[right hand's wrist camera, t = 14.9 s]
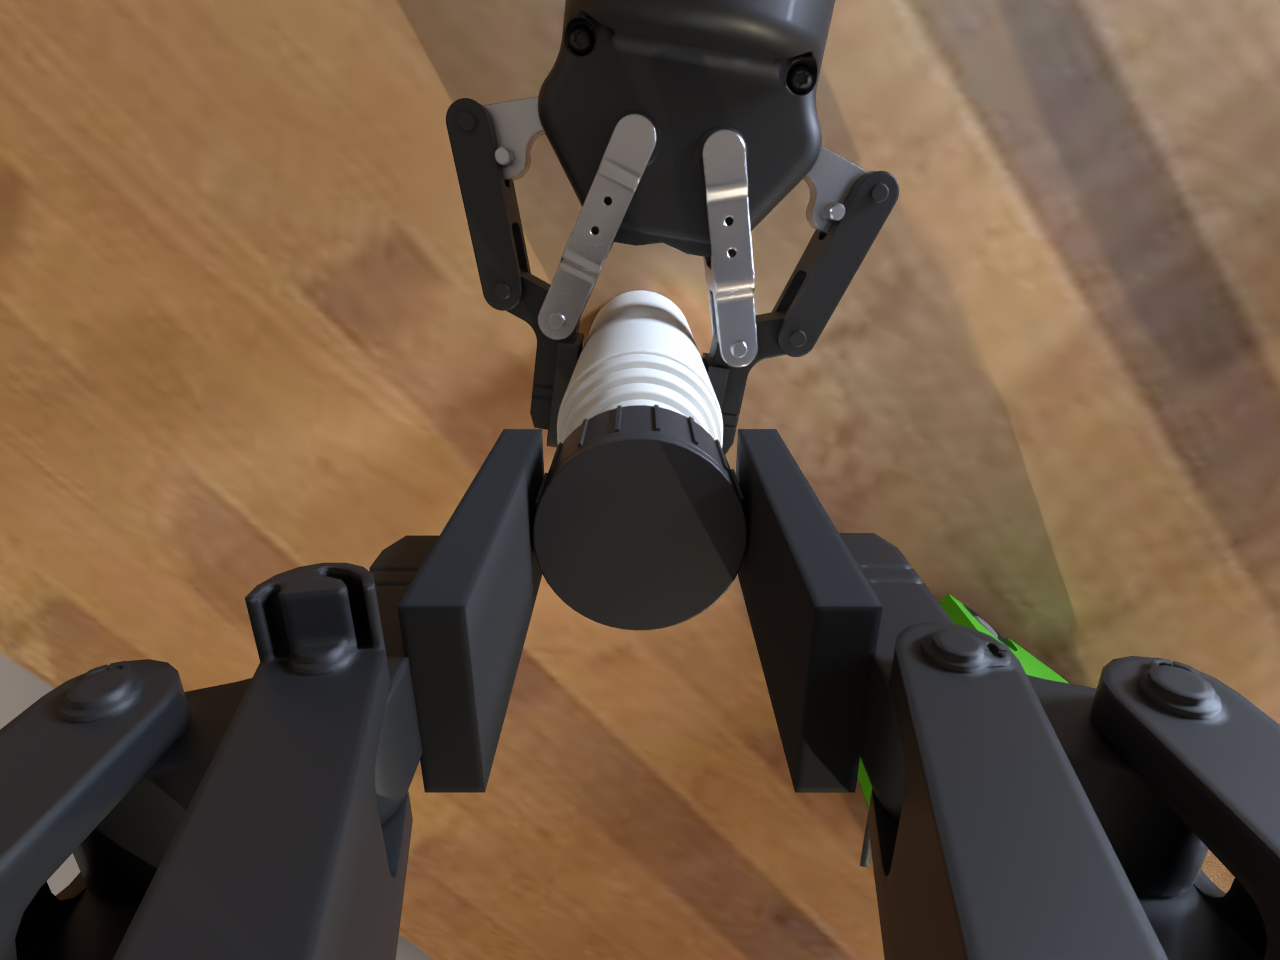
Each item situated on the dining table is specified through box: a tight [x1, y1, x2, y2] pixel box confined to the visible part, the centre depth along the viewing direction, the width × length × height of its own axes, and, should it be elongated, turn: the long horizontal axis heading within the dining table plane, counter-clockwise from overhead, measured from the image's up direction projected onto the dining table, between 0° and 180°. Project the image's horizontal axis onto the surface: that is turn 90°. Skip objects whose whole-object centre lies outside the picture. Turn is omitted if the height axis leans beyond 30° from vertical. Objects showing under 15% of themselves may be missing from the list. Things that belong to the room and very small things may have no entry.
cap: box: [533, 405, 747, 630], centre depth 13 cm, size 4×4×2 cm
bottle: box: [557, 290, 723, 447], centre depth 21 cm, size 4×4×18 cm
